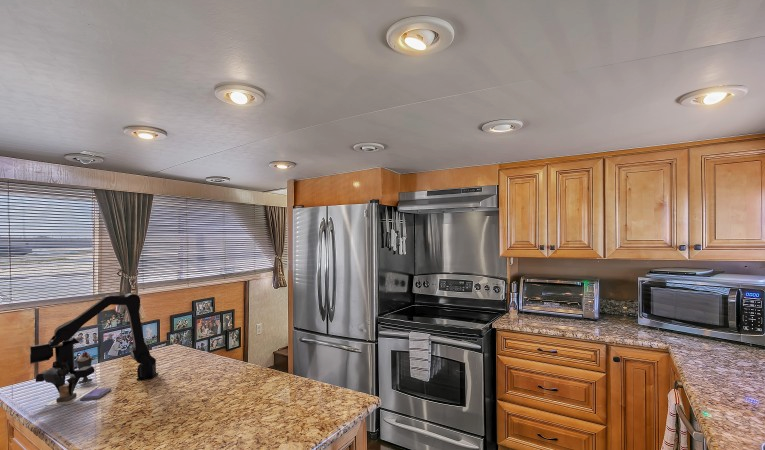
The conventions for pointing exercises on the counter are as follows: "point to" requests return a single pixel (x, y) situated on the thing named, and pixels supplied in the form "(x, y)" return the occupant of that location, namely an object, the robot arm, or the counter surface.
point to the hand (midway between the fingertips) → (66, 394)
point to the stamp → (65, 394)
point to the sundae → (84, 364)
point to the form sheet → (79, 393)
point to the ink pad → (95, 394)
